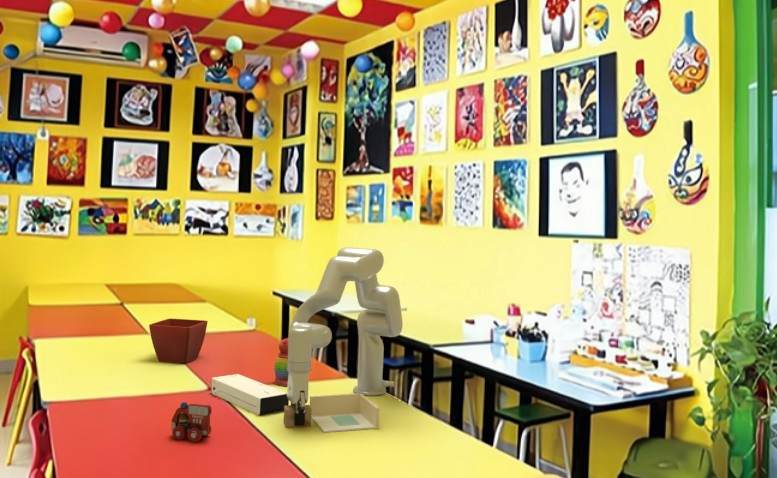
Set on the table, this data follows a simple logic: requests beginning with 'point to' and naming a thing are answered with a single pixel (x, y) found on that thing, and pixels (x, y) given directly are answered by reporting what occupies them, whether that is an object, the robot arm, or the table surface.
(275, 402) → the laminator
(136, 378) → the table surface
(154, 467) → the table surface
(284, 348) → the stacking bear
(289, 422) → the block
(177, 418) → the toy fire truck
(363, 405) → the arena
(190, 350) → the plant pot
